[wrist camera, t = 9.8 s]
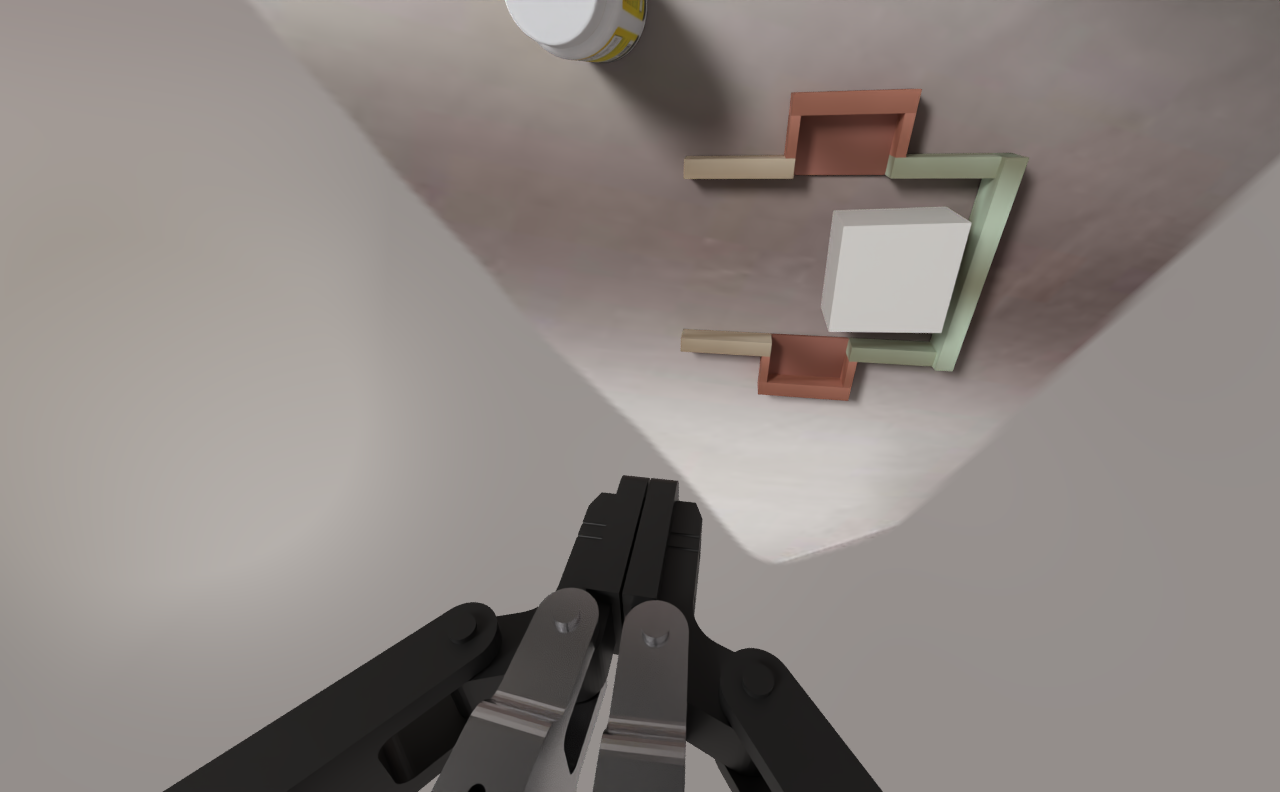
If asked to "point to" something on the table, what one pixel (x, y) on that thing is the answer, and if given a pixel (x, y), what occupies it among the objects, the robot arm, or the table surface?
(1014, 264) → the table surface
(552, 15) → the supplement bottle
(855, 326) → the grey block
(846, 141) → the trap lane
